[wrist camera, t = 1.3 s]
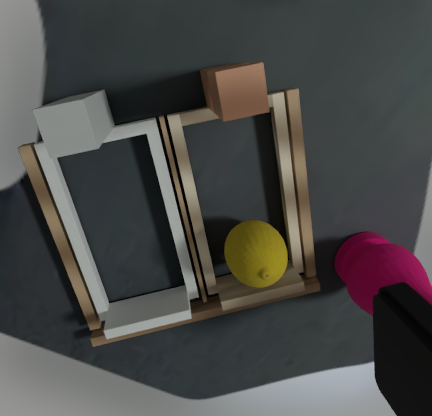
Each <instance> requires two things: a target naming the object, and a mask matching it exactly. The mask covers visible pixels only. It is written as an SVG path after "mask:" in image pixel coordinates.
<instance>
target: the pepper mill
mask: <svg viewBox="0 0 432 416" xmlns="http://www.w3.org/2000/svg"><path fill="white" fill-rule="evenodd" d="M335 270H336V272H337V274H338V275H339V277H340V278H341V279H342V280H343V281H344V283H345V284H346V285H347V290H348V293H349V295H350V297H351V298H352V300H353V301H354V302H355V303H356V304H357V305H358V306H359V307H360V308H361V309H363V310H364V311H366V312H367V313H369V314H371V315H373V296H374V295H377V294H378V290H379V288H381V287H383V286H387V285H391V284H396V283H400V282H405V283H407V284H408V285H410V286H411V287H412V288H413V289H414V290H415V291H416V292H417V293H419V294H420V295H421V296H422V297H423V298H424V299H425V300H426V301H428V302H429V303H430V304H431V305H432V287H431V284H430V282H429V279H428V276H427V274H426V272H425V269H424V268H423V266H422V265H421V263H420V261H419V260H418V259H417V258H416V257H415V256H414V255H413V254H412V253H411V252H410V251H409V250H407V249H406V248H404V247H402V246H399V245H396V244H391V243H390V242H389V241H387V240H386V239H385V238H383V237H382V236H381V235H379V234H376V233H373V232H363V233H359V234H356V235H353V236H352V237H350V238H349V239H347V240H346V241H345V242H344V243H343V244H342V245H341V247H340V248H339V249H338V251H337V254H336V256H335Z"/></svg>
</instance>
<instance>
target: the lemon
mask: <svg viewBox="0 0 432 416" xmlns="http://www.w3.org/2000/svg"><path fill="white" fill-rule="evenodd" d="M224 254H225V259H226V263H227V265H228V267H229V269H230V271H231V272H232V274H233V275H234V276H235V277H236V278H237V279H238V280H239V281H240V282H242V283H244V284H246V285H248V286H251V287H255V288H263V287H267V286H270V285H272V284H274V283H275V282H277V281H278V280H279V279H280V278H281V277H282V275H283V274H284V272H285V270H286V267H287V262H288V254H287V249H286V245H285V242H284V240H283V238H282V237H281V235H280V234H279V232H278V231H277V230H276V229H275V228H273V227H272V226H271V225H269V224H267V223H265V222H263V221H258V220H248V221H244V222H241V223H240V224H238V225H236V226H235V227H234V228H233V229H232V230H231V231H230V233H229V234H228V236H227V239H226V242H225V249H224Z"/></svg>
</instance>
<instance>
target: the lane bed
mask: <svg viewBox="0 0 432 416" xmlns="http://www.w3.org/2000/svg"><path fill="white" fill-rule="evenodd" d="M283 92H284V99H285V108H286V117H287V126H288V136H289V145H290V154H291V163H292V172H293V181H294V190H295V199H296V208H297V217H298V226H299V235H300V244H301V253H302V262H303V271H304V274H305V275H300V277H301V278H302V280H303V281H304V288H305V291H301V292H297V293H293V294H289V295H285V296H281V297H277V298H273V299H269V300H265V301H261V302H257V303H253V304H249V305H245V306H240V307H236V308H232V309H228V310H224V311H223V309H222V305H221V301H220V297H219V295H218V296H214V297H210V298H206V293H205V289H204V284H203V280H202V276H201V272H200V268H199V263H198V259H197V255H196V251H195V246H194V242H193V238H192V234H191V229H190V225H189V221H188V217H187V212H186V208H185V204H184V200H183V196H182V191H181V187H180V183H179V179H178V174H177V170H176V166H175V162H174V157H173V153H172V149H171V145H170V140H169V136H168V132H167V128H166V123H165V119H164V115H162V116H159V120H160V124H161V129H162V133H163V137H164V141H165V145H166V149H167V153H168V158H169V162H170V166H171V170H172V174H173V178H174V182H175V187H176V191H177V195H178V199H179V203H180V207H181V211H182V216H183V220H184V224H185V228H186V232H187V236H188V240H189V245H190V249H191V253H192V257H193V261H194V265H195V269H196V274H197V278H198V282H199V286H200V290H201V294H202V298H203V299H202V300H198V301H194V302H190V309H191V317H192V319H188V320H184V321H179V322H175V323H171V324H167V325H163V326H159V327H155V328H151V329H147V330H143V331H139V332H135V333H131V334H127V335H123V336H118V337H114V338H110V339H106V336H105V334H104V326H105V323H103V324H101V322H102V321H100V318H99V315H98V313H97V310H96V308H95V305H94V302H93V300H92V297H91V294H90V292H89V289H88V286H87V284H86V281H85V279H84V276H83V273H82V271H81V268H80V265H79V263H78V260H77V258H76V255H75V252H74V250H73V247H72V244H71V242H70V239H69V236H68V234H67V231H66V229H65V226H64V223H63V221H62V218H61V215H60V213H59V210H58V208H57V205H56V202H55V200H54V197H53V194H52V192H51V189H50V186H49V184H48V181H47V179H46V176H45V173H44V171H43V168H42V165H41V163H40V160H39V158H38V155H37V152H36V150H35V147H34V144H35V142H33V143H29V144H24V145H21V146H20V147H18V150H19V153H20V155H21V157H22V160H23V163H24V165H25V168H26V170H27V173H28V175H29V178H30V180H31V183H32V185H33V188H34V190H35V193H36V195H37V198H38V200H39V203H40V205H41V208H42V210H43V213H44V215H45V218H46V220H47V223H48V225H49V228H50V230H51V233H52V236H53V238H54V241H55V243H56V246H57V248H58V251H59V253H60V256H61V258H62V261H63V263H64V266H65V268H66V271H67V273H68V276H69V278H70V281H71V283H72V286H73V288H74V291H75V293H76V296H77V298H78V301H79V303H80V306H81V308H82V311H83V313H84V316H85V318H86V321H87V323H88V326H89V328H90V330H92V334H91V338H90V340H91V342H92V345H93V347H94V346H98V345H102V344H106V343H110V342H114V341H118V340H122V339H126V338H130V337H135V336H139V335H143V334H147V333H151V332H155V331H159V330H163V329H167V328H171V327H175V326H179V325H183V324H187V323H191V322H195V321H199V320H203V319H208V318H212V317H216V316H220V315H224V314H228V313H232V312H236V311H240V310H244V309H248V308H252V307H256V306H260V305H264V304H268V303H272V302H276V301H281V300H285V299H289V298H293V297H297V296H301V295H305V294H309V293H313V292H317V291H320V282H319V281H318V280H317V278H316V277H315V276H316V267H315V256H314V246H313V236H312V225H311V215H310V204H309V194H308V183H307V173H306V163H305V152H304V142H303V131H302V121H301V110H300V100H299V90H298V88H290V89H285V90H283Z"/></svg>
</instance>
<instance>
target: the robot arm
mask: <svg viewBox="0 0 432 416" xmlns="http://www.w3.org/2000/svg"><path fill="white" fill-rule="evenodd" d="M373 329H374V364H375V379H376V383H377V385H378V387H379V390H380V391H381V393H382V394H383V396H384V397H385V399H386V400H387V402H388V403H389V405H390V406H391V408H392V409H393V411H394V412H395V414H396V415H397V416H432V305H431V304H430V303H429V302H428V301H426V300H425V299H424V298H423V297H422V296H421V295H420V294H419V293H417V292H416V291H415V290H414V289H413V288H412V287H411V286H410V285H408V284H407V283H405V282H400V283H396V284H391V285H387V286H383V287H381V288H379V290H378V294H377V295H374V296H373Z"/></svg>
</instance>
